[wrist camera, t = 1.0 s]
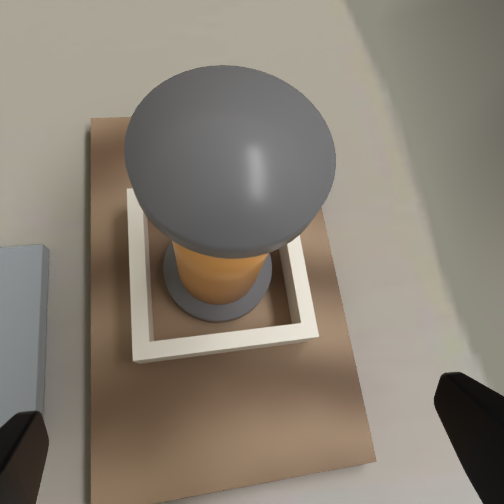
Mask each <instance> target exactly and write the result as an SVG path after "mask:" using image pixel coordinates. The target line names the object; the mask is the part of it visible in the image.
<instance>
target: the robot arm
mask: <svg viewBox="0 0 504 504" xmlns="http://www.w3.org/2000/svg"><path fill="white" fill-rule="evenodd" d="M434 405H435V409H436V411H437V413H438V415H439V417H440V420H441V422H442V424H443V426H444V428H445V430H446V432H447V435H448V437H449V439H450V441H451V443H452V445H453V448H454V450H455V452H456V454H457V456H458V458H459V460H460V462H461V464H462V466H463V468H464V470H465V472H466V474H467V476H468V478H469V480H470V482H471V483H472V485H473V487H474V489H475V490H476V492H477V494H478V495H479V497H480V499H481V501H482V502H483V504H504V396H502V395H500V394H499V393H497V392H495V391H493V390H492V389H490V388H488V387H486V386H485V385H483V384H481V383H479V382H477V381H476V380H474V379H472V378H470V377H469V376H467V375H465V374H463V373H461V372H449V373H444V374H442V375H441V377H440V380H439V383H438V386H437V389H436V393H435V396H434ZM48 446H49V438H48V434H47V431H46V427H45V424H44V420H43V417H42V414H41V412H40V411H37V410H34V411H23V412H18V413H16V414H15V415H14V416H12V417H11V418H10V419H9V420H8V421H7V422H6V423H5V424H4V425H2V426H1V427H0V504H36V500H37V496H38V491H39V487H40V483H41V478H42V474H43V470H44V465H45V461H46V456H47V452H48Z"/></svg>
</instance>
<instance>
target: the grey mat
mask: <svg viewBox="0 0 504 504" xmlns="http://www.w3.org/2000/svg"><path fill="white" fill-rule="evenodd" d="M48 276H49V249H48V248H46V247H45V246H44V245H43V244H38V245H25V246H13V247H0V427H1V426H2V425H4V424H5V423H6V422H7V421H8V420H9V419H10V418H11V417H12V416H14V415H15V414H16V413H18V412H23V411H34V410H37V411H40V412H41V414H42V417H43V411H44V384H45V357H46V330H47V303H48Z"/></svg>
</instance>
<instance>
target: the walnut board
mask: <svg viewBox="0 0 504 504" xmlns="http://www.w3.org/2000/svg"><path fill="white" fill-rule="evenodd" d="M130 119H131V117H117V118H91V504H156V503H161V502H166V501H171V500H177V499H182V498H187V497H192V496H198V495H203V494H208V493H213V492H219V491H224V490H229V489H234V488H240V487H245V486H250V485H255V484H261V483H266V482H271V481H276V480H282V479H287V478H292V477H298V476H303V475H308V474H313V473H319V472H324V471H329V470H334V469H340V468H345V467H350V466H355V465H361V464H366V463H371V462H376V456H375V452H374V447H373V443H372V438H371V433H370V429H369V424H368V420H367V415H366V410H365V406H364V401H363V397H362V392H361V388H360V383H359V378H358V374H357V369H356V365H355V360H354V355H353V351H352V346H351V342H350V337H349V332H348V328H347V323H346V319H345V314H344V309H343V305H342V300H341V296H340V291H339V286H338V282H337V277H336V273H335V268H334V263H333V259H332V254H331V250H330V245H329V240H328V236H327V231H326V227H325V222H324V217H323V213H322V208H320V210H319V211H318V213H317V214H316V216H315V217H314V219H313V220H312V222H311V223H310V225H309V226H308V227H307V228H306V229H305V230H304V231H303V232H302V233H301V234H300V240H301V245H302V250H303V255H304V260H305V266H306V271H307V276H308V281H309V287H310V292H311V297H312V302H313V307H314V313H315V318H316V323H317V328H318V333H319V337H318V338H316V339H313V340H311V341H309V342H301V343H294V344H286V345H279V346H271V347H263V348H256V349H248V350H241V351H233V352H225V353H218V354H210V355H203V356H195V357H187V358H180V359H172V360H165V361H157V362H149V363H142V364H139V363H136V362H134V361H133V355H132V326H131V297H130V268H129V240H128V211H127V189H129V188H132V185H131V182H130V179H129V176H128V173H127V169H126V165H125V157H124V142H125V136H126V131H127V127H128V125H129V122H130ZM147 220H148V239H149V258H150V276H151V295H152V314H153V333H154V341H159V340H168V339H176V338H184V337H192V336H200V335H208V334H216V333H224V332H233V331H241V330H249V329H257V328H265V327H273V326H281V325H290V324H292V322H291V316H290V311H289V305H288V299H287V293H286V287H285V281H284V275H283V270H282V264H281V258H280V252H279V249H277V250H275V251H272V252H270V257H271V261H272V276H271V281H270V284H269V287H268V289H267V291H266V293H265V295H264V296H263V298H262V299H261V301H260V302H259V304H258V305H257V306H256V307H255V308H254V309H253V310H252V311H251V312H249V313H248V314H246V315H245V316H243V317H241V318H239V319H237V320H234V321H230V322H225V323H210V322H205V321H201V320H198V319H196V318H194V317H192V316H190V315H188V314H187V313H185V312H184V311H183V310H182V309H181V308H180V307H178V305H177V304H176V303H175V302H174V300H173V299H172V297H171V295H170V293H169V291H168V288H167V286H166V282H165V279H164V272H163V263H164V257H165V253H166V250H167V248H168V246H169V244H170V242H171V241H172V240H171V239H169V238H168V237H166V236H165V235H164V234H163V233H161V232H160V231H159V230H158V229H157V228H156V227H155V226H154V225H153V224H152V223H151V221H150V220H149V219H148V218H147Z"/></svg>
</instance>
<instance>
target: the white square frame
mask: <svg viewBox="0 0 504 504" xmlns="http://www.w3.org/2000/svg"><path fill="white" fill-rule="evenodd" d="M127 211H128V240H129V268H130V297H131V326H132V355H133V361H134V362H136V363H139V364H142V363H149V362H157V361H165V360H172V359H180V358H187V357H195V356H203V355H210V354H218V353H225V352H233V351H241V350H248V349H256V348H263V347H271V346H279V345H286V344H294V343H301V342H309V341H311V340H313V339H316V338H318V337H319V333H318V328H317V323H316V318H315V313H314V307H313V302H312V297H311V292H310V287H309V281H308V276H307V271H306V266H305V260H304V255H303V250H302V245H301V240H300V235H299V236H298V237H296V238H295V239H294V240H293V241H291V242H290V243H288V244H286V245H285V246H283V247H281V248H279V252H280V258H281V264H282V270H283V275H284V281H285V287H286V293H287V299H288V305H289V311H290V316H291V322H292V324H290V325H281V326H273V327H265V328H257V329H249V330H241V331H233V332H224V333H216V334H208V335H200V336H192V337H184V338H176V339H168V340H159V341H154V333H153V314H152V295H151V276H150V258H149V239H148V220H147V217H146V215H145V213H144V212H143V210H142V209H141V207H140V205H139V203H138V201H137V198H136V196H135V194H134V191H133V188H129V189H127Z"/></svg>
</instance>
